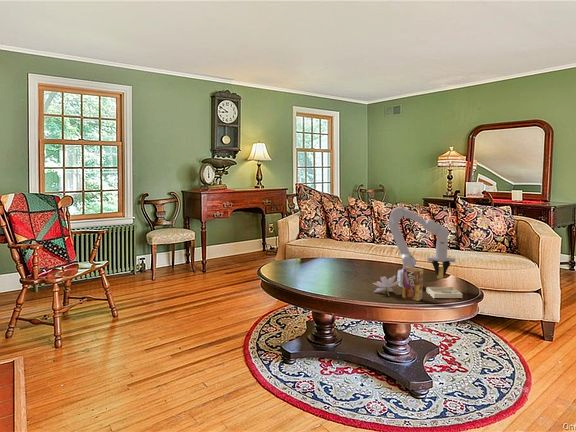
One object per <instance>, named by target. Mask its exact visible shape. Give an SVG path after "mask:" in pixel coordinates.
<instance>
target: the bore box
mask: <svg viewBox="0 0 576 432" xmlns="http://www.w3.org/2000/svg"><path fill="white" fill-rule="evenodd" d="M425 292H426V293H427V294H428V295H429V294H430V295H429V296H431V297H432V298H433V299H434V298H462V299H463V293H462V292H461V291H459V290H458V289H456V288H455V287H454V286H425Z"/></svg>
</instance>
